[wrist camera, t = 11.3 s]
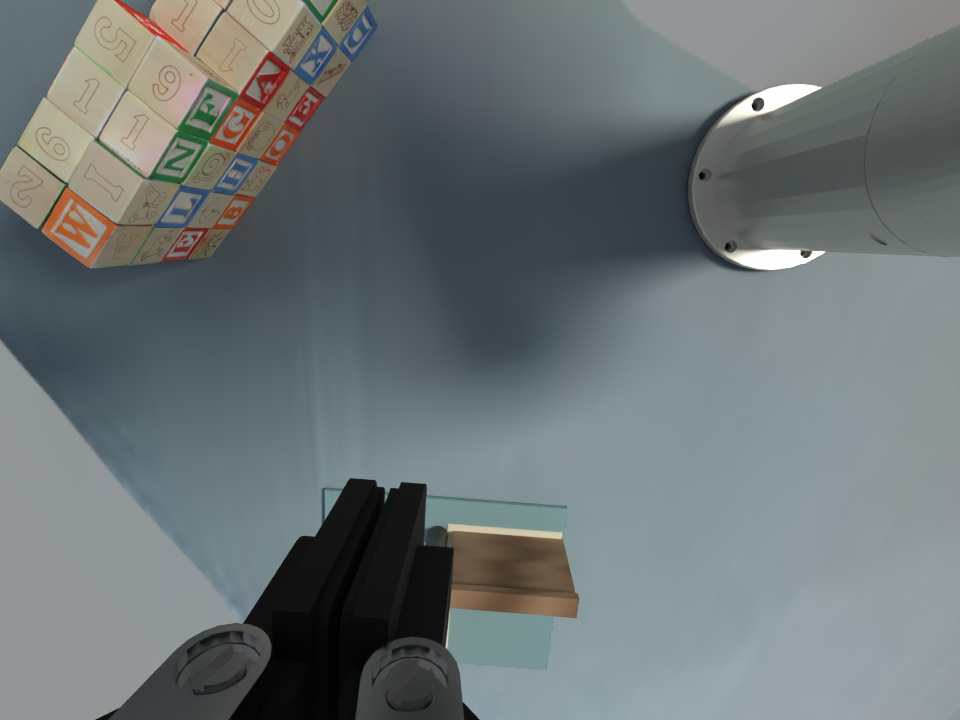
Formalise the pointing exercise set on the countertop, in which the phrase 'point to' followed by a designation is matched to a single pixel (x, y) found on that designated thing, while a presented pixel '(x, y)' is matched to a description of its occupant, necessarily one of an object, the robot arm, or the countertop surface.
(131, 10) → the stack of blocks
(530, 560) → the fixed fence panel
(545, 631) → the board
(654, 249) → the countertop surface
